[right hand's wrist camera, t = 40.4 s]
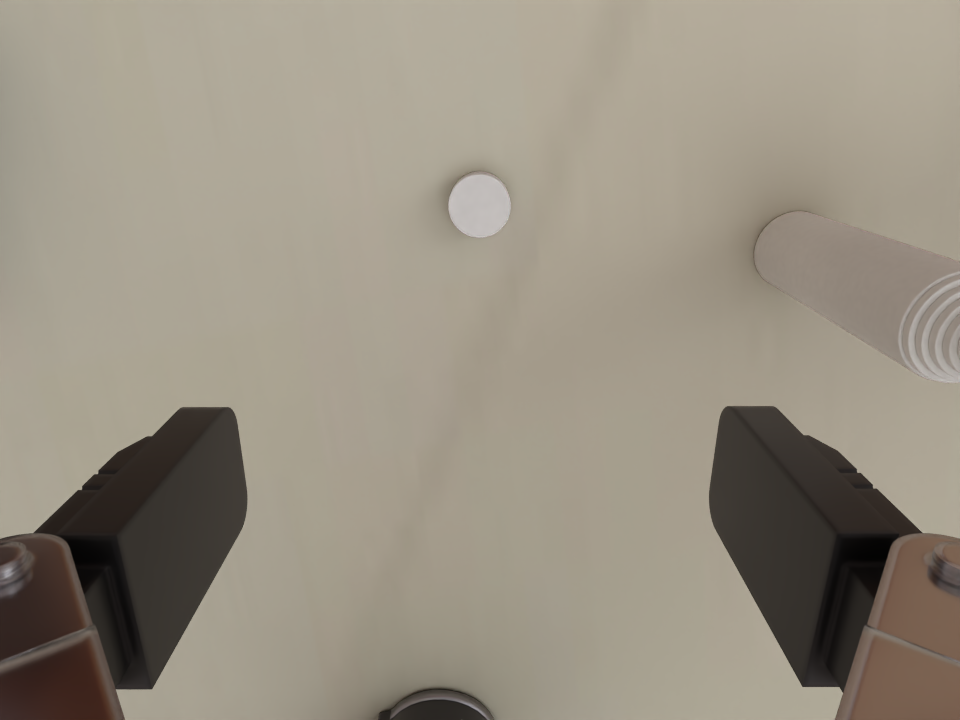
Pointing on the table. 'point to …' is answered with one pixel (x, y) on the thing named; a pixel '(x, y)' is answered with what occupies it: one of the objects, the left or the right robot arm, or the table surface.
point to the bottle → (869, 288)
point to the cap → (479, 204)
